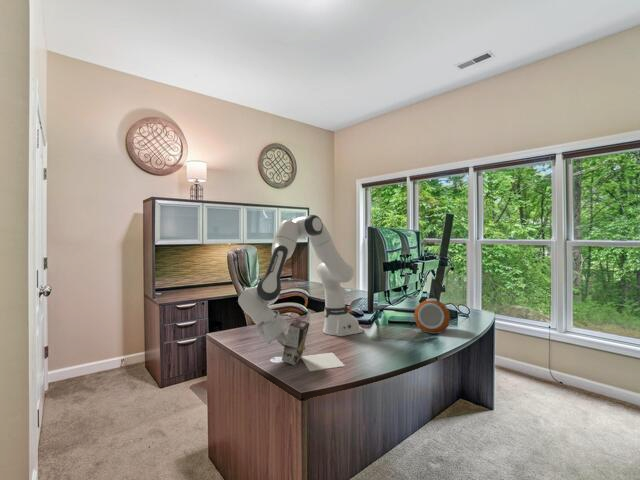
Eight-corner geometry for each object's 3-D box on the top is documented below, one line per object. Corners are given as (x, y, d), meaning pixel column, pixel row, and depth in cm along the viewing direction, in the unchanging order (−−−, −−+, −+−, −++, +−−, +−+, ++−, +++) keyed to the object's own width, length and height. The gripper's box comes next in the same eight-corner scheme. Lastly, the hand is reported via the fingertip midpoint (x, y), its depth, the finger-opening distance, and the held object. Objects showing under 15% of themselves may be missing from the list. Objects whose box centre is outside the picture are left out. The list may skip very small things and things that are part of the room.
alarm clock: (412, 332, 179) (412, 301, 179) (415, 324, 196) (415, 295, 195) (450, 336, 172) (449, 303, 172) (450, 327, 188) (450, 297, 188)
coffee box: (295, 365, 136) (303, 329, 134) (281, 360, 138) (288, 324, 136) (302, 357, 145) (310, 322, 143) (289, 352, 147) (296, 318, 145)
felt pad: (332, 353, 150) (332, 352, 150) (345, 366, 135) (345, 365, 135) (300, 357, 146) (300, 356, 146) (309, 371, 130) (309, 370, 130)
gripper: (260, 320, 133) (283, 346, 131) (278, 309, 153) (298, 331, 151) (250, 331, 134) (273, 356, 132) (269, 318, 154) (289, 340, 152)
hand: (287, 343), depth 142 cm, fingers closed, pressing on coffee box
